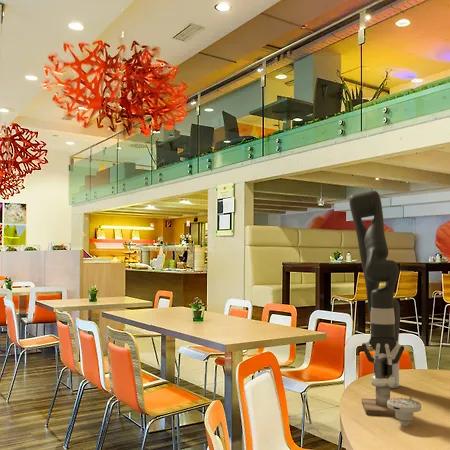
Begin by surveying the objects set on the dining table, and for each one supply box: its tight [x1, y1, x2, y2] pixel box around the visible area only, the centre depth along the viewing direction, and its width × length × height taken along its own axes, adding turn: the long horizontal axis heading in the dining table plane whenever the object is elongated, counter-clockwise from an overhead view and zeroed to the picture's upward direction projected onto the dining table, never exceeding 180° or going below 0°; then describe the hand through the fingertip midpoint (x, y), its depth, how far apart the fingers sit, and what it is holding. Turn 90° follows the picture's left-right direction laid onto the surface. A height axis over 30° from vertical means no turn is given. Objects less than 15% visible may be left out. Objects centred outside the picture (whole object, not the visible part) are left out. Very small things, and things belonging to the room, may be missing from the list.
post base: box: [361, 386, 396, 417], centre depth 162 cm, size 13×12×8 cm
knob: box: [370, 357, 395, 389], centre depth 163 cm, size 7×8×8 cm
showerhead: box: [387, 396, 422, 427], centre depth 147 cm, size 9×7×10 cm
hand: (383, 375), depth 162 cm, fingers closed on knob, 3 cm apart
